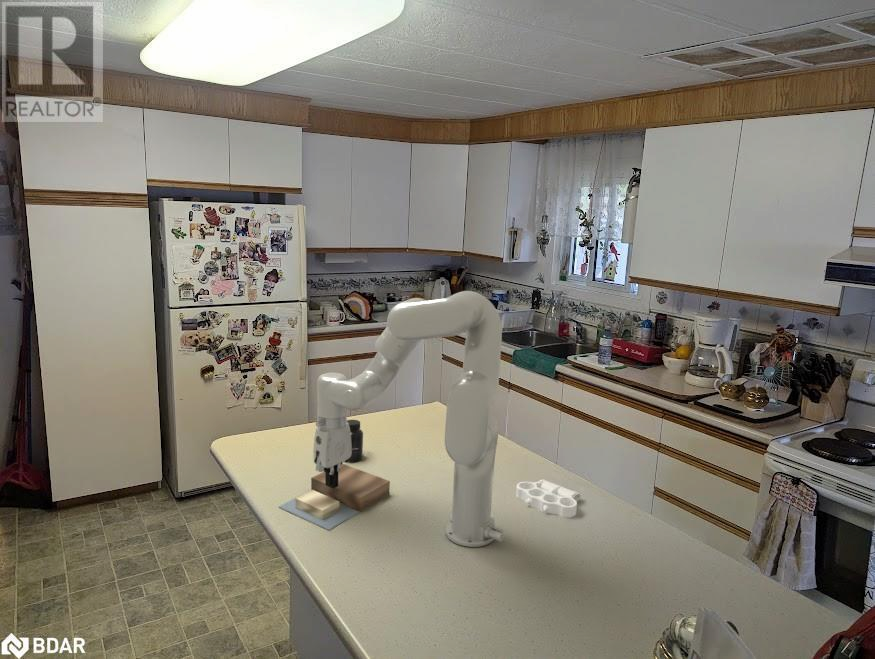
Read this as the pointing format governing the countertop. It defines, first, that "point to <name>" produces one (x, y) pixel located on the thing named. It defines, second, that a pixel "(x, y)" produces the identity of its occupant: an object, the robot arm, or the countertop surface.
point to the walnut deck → (353, 487)
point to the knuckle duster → (548, 497)
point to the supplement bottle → (355, 441)
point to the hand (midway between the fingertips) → (331, 485)
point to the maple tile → (317, 504)
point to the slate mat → (326, 523)
